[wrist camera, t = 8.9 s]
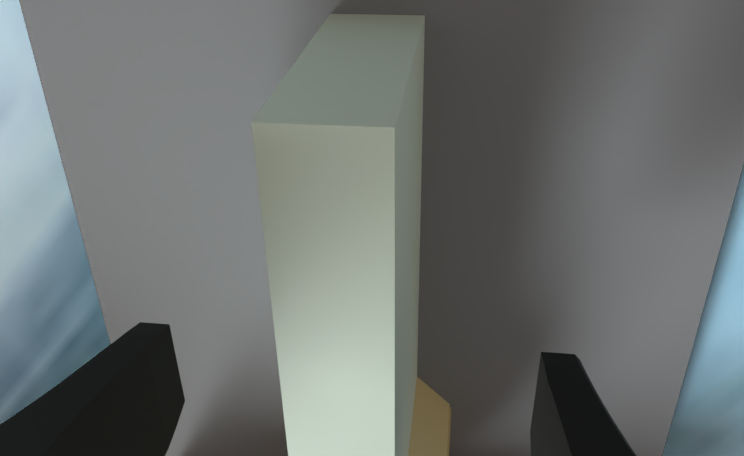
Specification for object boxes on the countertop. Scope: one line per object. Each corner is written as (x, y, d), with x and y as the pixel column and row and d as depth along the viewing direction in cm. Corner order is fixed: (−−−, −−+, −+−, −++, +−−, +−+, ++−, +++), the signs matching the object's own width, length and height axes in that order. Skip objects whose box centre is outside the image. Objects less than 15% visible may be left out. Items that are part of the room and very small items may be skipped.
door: (447, 473, 22) (437, 679, 16) (319, 460, 22) (270, 658, 17) (473, 16, 15) (469, 130, 9) (284, 12, 15) (181, 119, 10)
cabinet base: (626, 535, 23) (675, 784, 18) (166, 488, 25) (69, 697, 19) (806, -145, 13) (1072, -103, 7) (11, -137, 15) (-293, -99, 9)
